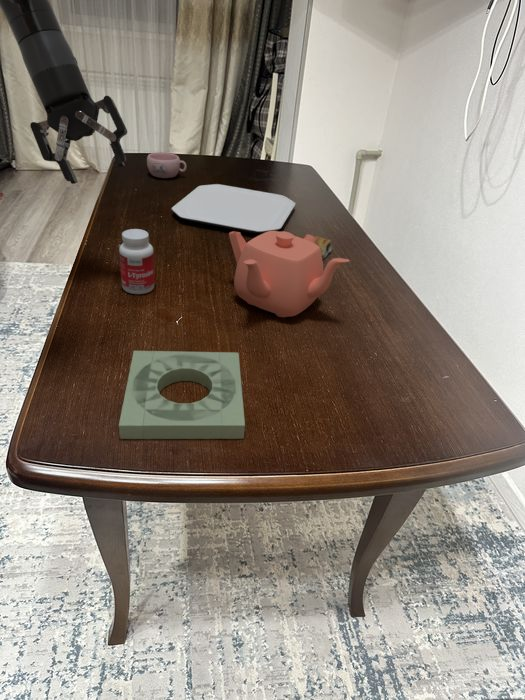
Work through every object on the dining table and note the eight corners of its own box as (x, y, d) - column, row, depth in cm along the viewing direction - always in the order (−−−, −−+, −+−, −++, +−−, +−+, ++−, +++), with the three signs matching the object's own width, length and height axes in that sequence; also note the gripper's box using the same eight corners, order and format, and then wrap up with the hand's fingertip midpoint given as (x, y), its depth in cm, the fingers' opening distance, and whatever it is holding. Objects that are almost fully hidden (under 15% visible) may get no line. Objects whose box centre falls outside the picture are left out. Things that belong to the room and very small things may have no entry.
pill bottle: (127, 297, 91) (122, 242, 85) (118, 282, 96) (113, 228, 89) (159, 292, 94) (157, 238, 88) (149, 278, 98) (146, 225, 92)
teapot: (336, 325, 90) (351, 256, 82) (238, 329, 86) (244, 257, 78) (308, 278, 105) (319, 215, 97) (223, 280, 101) (226, 214, 92)
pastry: (286, 251, 115) (288, 235, 113) (296, 241, 120) (298, 226, 118) (324, 261, 112) (326, 245, 110) (332, 251, 117) (335, 236, 115)
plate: (298, 205, 142) (299, 197, 140) (275, 242, 118) (276, 233, 117) (203, 188, 146) (203, 181, 144) (164, 221, 123) (163, 212, 121)
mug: (144, 179, 148) (143, 159, 144) (150, 170, 156) (150, 150, 152) (184, 183, 148) (184, 163, 145) (188, 173, 156) (188, 154, 153)
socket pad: (120, 439, 63) (118, 425, 62) (134, 363, 76) (133, 350, 74) (243, 438, 65) (245, 425, 64) (237, 365, 78) (238, 352, 76)
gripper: (2, 82, 74) (52, 189, 79) (91, 49, 74) (135, 159, 79) (20, 91, 81) (65, 189, 86) (101, 62, 81) (141, 161, 86)
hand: (98, 174), depth 83 cm, fingers open, 8 cm apart
